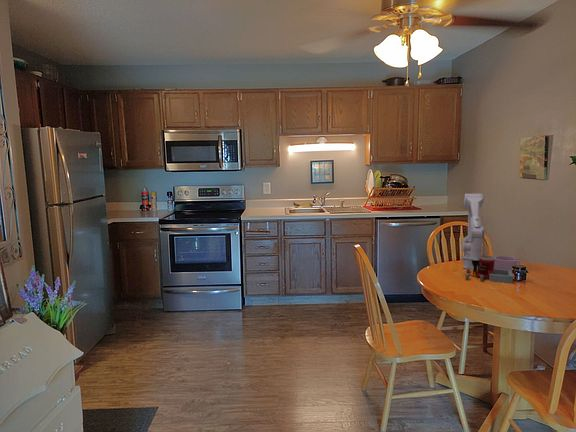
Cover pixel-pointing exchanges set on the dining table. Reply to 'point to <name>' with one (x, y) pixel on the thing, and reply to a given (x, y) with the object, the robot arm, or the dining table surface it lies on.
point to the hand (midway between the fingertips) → (475, 274)
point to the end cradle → (501, 276)
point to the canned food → (485, 266)
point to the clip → (505, 262)
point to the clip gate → (467, 272)
